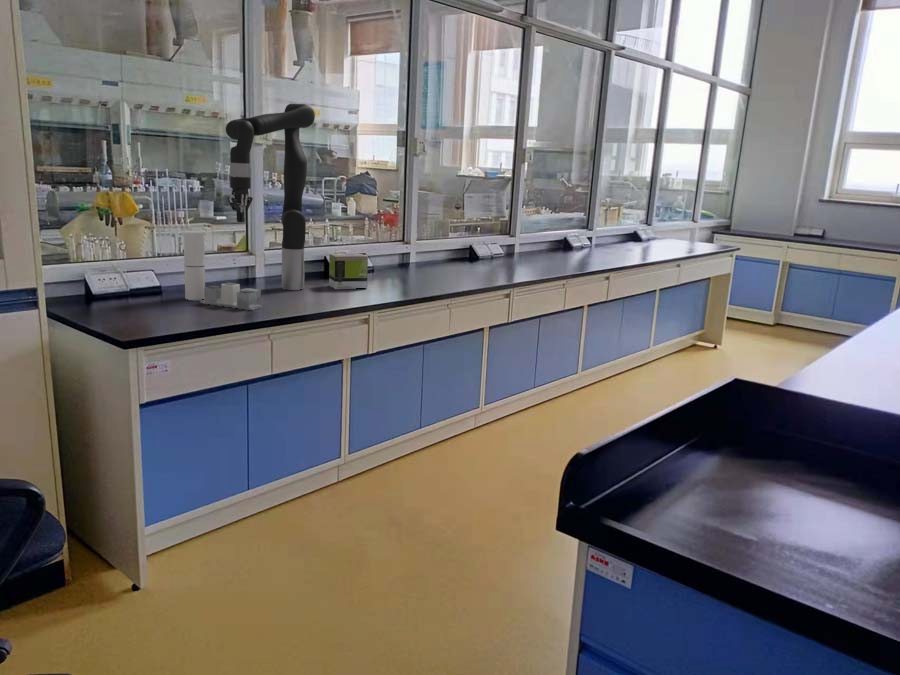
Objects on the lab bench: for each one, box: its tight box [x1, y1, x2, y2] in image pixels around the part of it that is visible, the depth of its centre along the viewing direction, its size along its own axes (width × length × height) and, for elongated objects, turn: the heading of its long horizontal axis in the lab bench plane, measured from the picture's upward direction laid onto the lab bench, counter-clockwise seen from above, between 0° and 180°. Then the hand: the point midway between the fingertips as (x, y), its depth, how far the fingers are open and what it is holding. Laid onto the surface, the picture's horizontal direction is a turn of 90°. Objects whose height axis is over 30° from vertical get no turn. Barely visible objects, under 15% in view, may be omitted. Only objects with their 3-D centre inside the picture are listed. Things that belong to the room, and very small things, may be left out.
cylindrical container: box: [183, 230, 206, 301], centre depth 258 cm, size 7×7×25 cm
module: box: [220, 282, 241, 305], centre depth 251 cm, size 4×5×7 cm
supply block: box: [240, 287, 262, 300], centre depth 268 cm, size 6×6×4 cm
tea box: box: [328, 253, 369, 290], centre depth 303 cm, size 15×10×15 cm
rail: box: [199, 285, 262, 311], centre depth 252 cm, size 6×22×6 cm, turn 71°
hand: (240, 222), depth 262 cm, fingers closed
